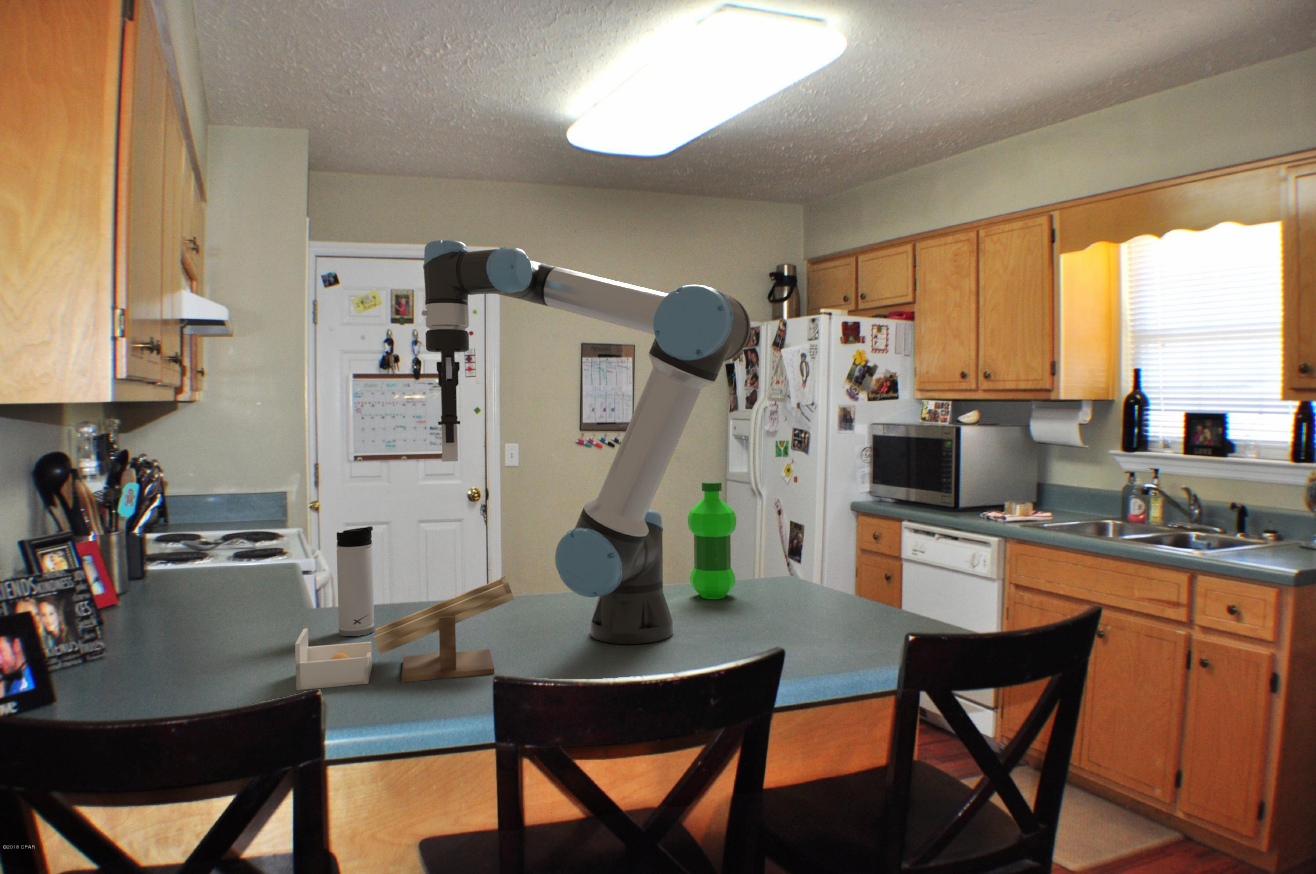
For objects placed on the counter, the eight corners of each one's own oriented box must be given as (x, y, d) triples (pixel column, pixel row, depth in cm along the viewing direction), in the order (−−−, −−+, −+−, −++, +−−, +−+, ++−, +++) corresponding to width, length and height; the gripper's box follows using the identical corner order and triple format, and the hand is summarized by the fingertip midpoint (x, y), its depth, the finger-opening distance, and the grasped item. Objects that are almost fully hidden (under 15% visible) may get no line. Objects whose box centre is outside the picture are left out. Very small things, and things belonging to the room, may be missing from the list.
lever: (507, 583, 149) (501, 569, 149) (514, 599, 137) (508, 583, 137) (384, 633, 144) (378, 618, 144) (380, 654, 132) (373, 638, 132)
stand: (489, 654, 145) (488, 600, 145) (494, 673, 134) (493, 615, 134) (403, 661, 141) (402, 606, 141) (401, 682, 131) (400, 622, 130)
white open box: (371, 665, 139) (370, 623, 139) (368, 683, 130) (366, 638, 130) (304, 671, 137) (303, 628, 136) (296, 690, 128) (295, 643, 127)
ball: (341, 679, 134) (358, 666, 135) (332, 677, 131) (349, 663, 132) (331, 664, 135) (347, 650, 136) (321, 661, 132) (338, 647, 133)
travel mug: (364, 638, 156) (361, 529, 155) (332, 636, 157) (329, 528, 157) (382, 629, 162) (379, 524, 161) (350, 627, 164) (348, 524, 163)
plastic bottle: (691, 591, 192) (689, 480, 191) (738, 591, 190) (737, 480, 189) (686, 601, 182) (685, 484, 181) (735, 602, 180) (734, 484, 179)
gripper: (425, 332, 158) (428, 459, 159) (425, 326, 145) (428, 464, 146) (467, 332, 160) (469, 458, 161) (470, 326, 147) (473, 462, 148)
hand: (450, 460), depth 153 cm, fingers closed
